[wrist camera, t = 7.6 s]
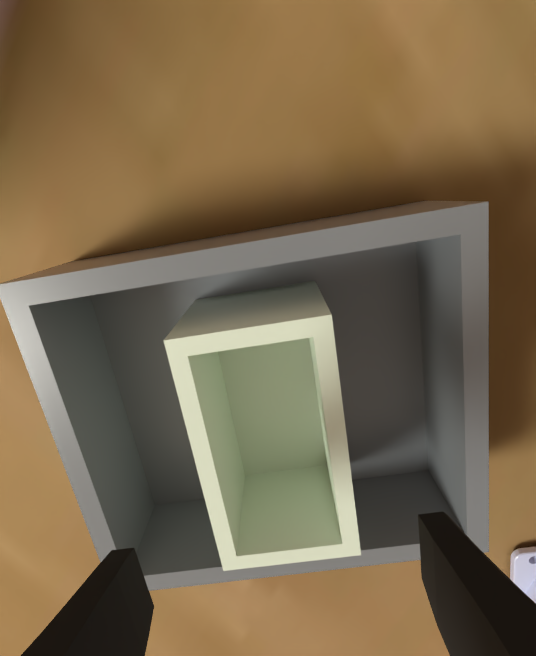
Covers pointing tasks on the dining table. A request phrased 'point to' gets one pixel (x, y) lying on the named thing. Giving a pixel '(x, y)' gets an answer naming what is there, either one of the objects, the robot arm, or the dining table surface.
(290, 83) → the dining table surface
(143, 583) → the robot arm
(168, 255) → the charcoal crate
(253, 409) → the sage crate
